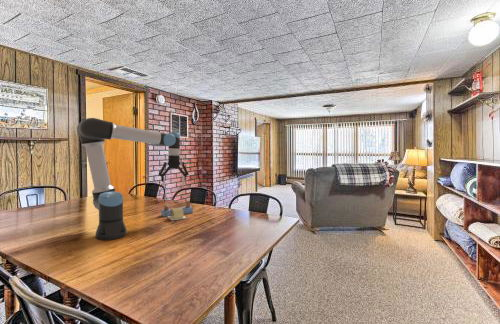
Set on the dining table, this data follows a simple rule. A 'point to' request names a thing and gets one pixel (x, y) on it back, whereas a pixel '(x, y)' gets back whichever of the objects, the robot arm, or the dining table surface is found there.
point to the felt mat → (176, 219)
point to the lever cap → (176, 213)
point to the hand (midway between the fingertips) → (173, 185)
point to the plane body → (185, 209)
